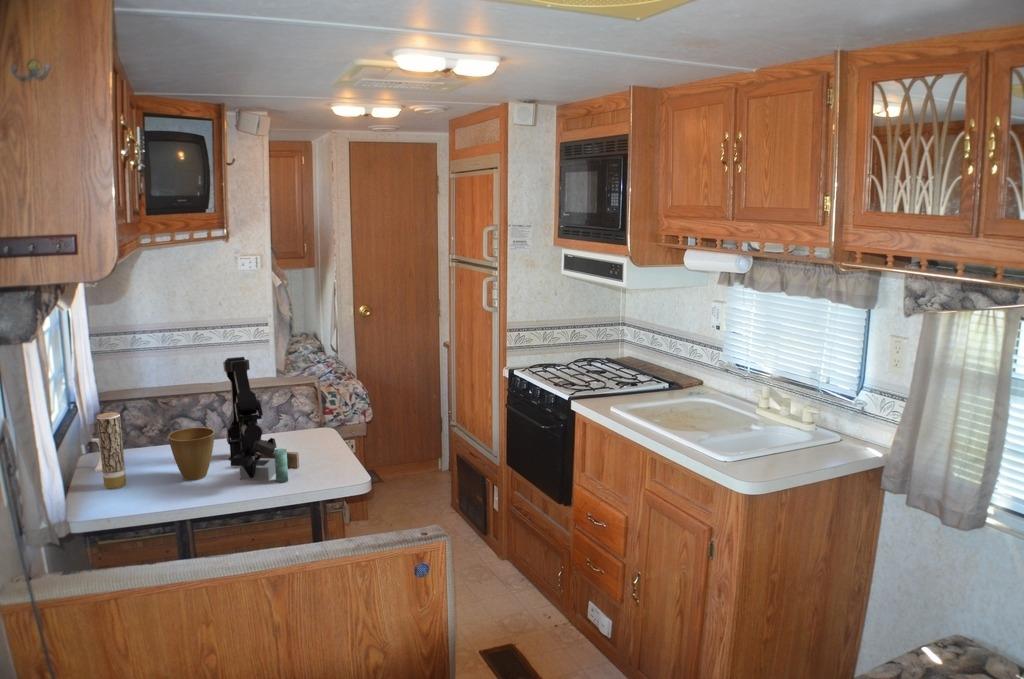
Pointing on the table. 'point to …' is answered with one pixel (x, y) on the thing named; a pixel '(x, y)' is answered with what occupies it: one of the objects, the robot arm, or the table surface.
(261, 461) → the socket block
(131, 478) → the table surface
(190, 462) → the plant pot
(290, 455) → the backstop wall
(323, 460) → the table surface
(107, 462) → the brown bark cylinder
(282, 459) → the dowel
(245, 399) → the robot arm
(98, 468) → the headphone stand
